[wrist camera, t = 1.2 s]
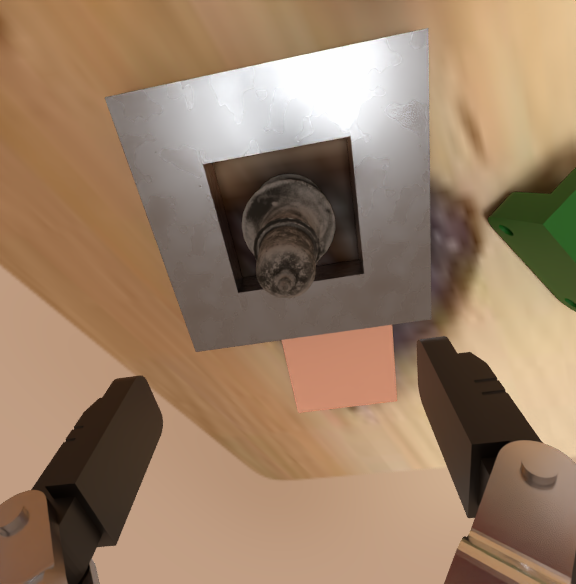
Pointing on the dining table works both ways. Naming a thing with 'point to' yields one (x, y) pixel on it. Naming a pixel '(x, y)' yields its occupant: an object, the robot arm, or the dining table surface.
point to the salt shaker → (288, 233)
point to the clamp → (543, 235)
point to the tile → (342, 368)
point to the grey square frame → (280, 135)
